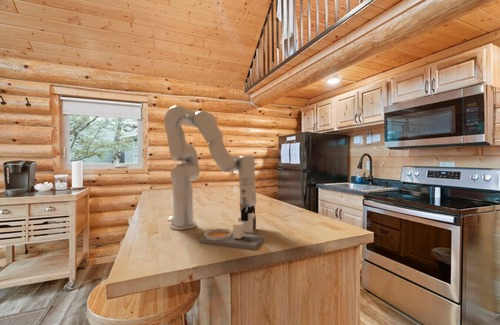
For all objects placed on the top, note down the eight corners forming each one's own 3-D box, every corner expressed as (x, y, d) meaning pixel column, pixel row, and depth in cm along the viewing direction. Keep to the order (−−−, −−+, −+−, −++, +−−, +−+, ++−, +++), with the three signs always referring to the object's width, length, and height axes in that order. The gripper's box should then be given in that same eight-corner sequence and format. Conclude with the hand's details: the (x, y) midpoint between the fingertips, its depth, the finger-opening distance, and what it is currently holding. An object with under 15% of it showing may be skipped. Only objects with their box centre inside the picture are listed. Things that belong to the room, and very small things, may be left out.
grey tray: (199, 242, 96) (199, 235, 96) (213, 233, 108) (213, 227, 108) (254, 249, 88) (254, 242, 88) (264, 239, 99) (264, 232, 99)
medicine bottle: (253, 233, 107) (253, 207, 107) (238, 232, 109) (237, 206, 109) (256, 228, 114) (255, 203, 114) (241, 227, 116) (241, 203, 116)
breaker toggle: (233, 237, 95) (233, 224, 95) (237, 234, 99) (237, 221, 99) (240, 238, 94) (239, 225, 94) (243, 235, 98) (243, 222, 98)
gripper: (248, 183, 102) (249, 223, 102) (260, 180, 118) (261, 214, 118) (232, 183, 104) (233, 222, 105) (246, 180, 121) (247, 213, 121)
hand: (248, 218), depth 111 cm, fingers open, 9 cm apart
